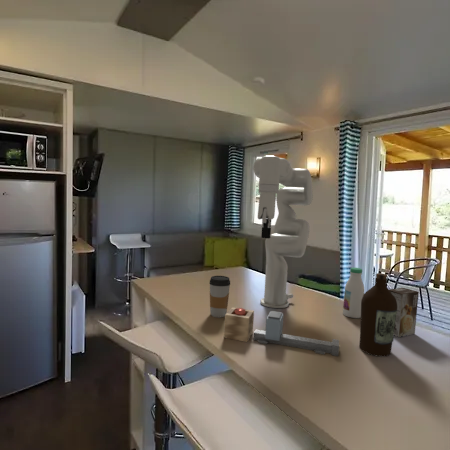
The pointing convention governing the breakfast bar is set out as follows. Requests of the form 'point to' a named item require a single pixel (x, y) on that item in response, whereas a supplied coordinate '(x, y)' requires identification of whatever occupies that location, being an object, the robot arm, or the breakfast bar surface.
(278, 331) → the carriage
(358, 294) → the milk bottle
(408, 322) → the coffee box
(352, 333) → the breakfast bar surface
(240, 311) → the button
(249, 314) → the small open wooden box
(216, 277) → the coffee cup
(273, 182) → the robot arm
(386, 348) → the olive oil
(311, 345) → the guide rail
